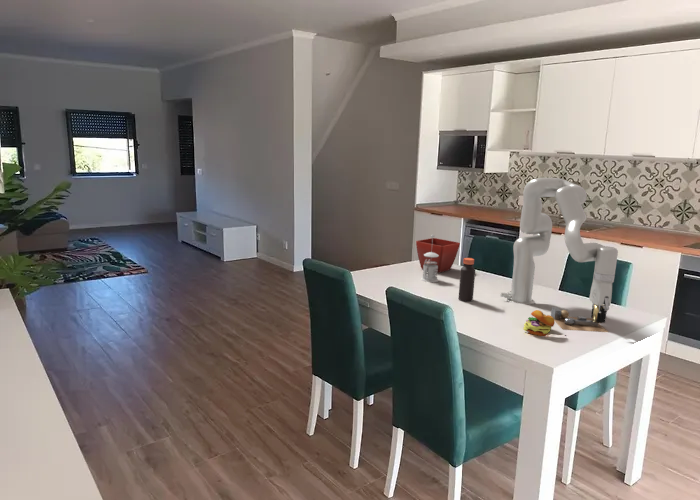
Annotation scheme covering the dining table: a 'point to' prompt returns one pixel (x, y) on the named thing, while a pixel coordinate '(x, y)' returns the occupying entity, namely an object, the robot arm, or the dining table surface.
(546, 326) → the cheeseburger
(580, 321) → the lever
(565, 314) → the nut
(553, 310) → the anvil
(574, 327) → the board
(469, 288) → the bottle
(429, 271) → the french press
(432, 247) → the plant pot
